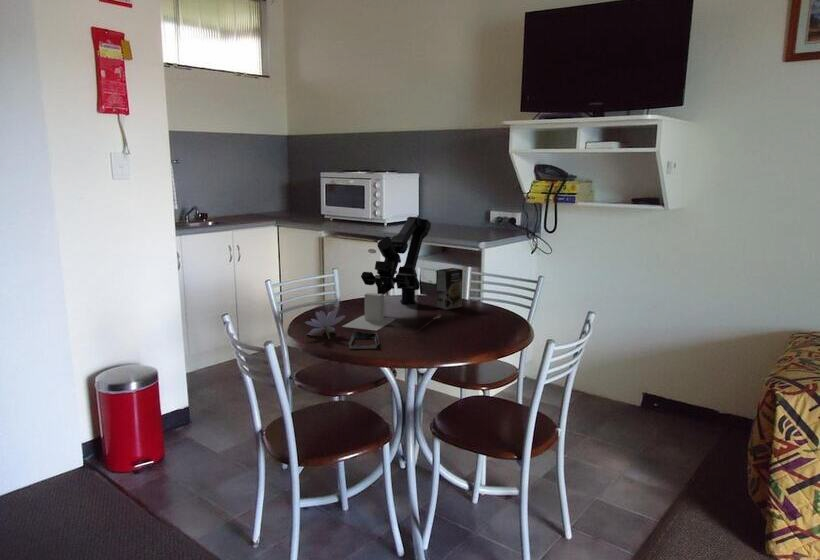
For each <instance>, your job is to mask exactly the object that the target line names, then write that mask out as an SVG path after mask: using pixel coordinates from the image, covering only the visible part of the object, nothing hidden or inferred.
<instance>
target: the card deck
mask: <svg viewBox="0 0 820 560" xmlns="http://www.w3.org/2000/svg"><path fill="white" fill-rule="evenodd" d="M384 296H385V295H384ZM384 296H383V294H378V293H376V292H375V293H373V292H367V293H365V294H364V315H365V320H369V321H378V322H381V321H382V320H384V316H385V315H384V314H385V313H384V302H385V301H384Z"/></svg>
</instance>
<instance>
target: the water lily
mask: <svg viewBox="0 0 820 560" xmlns="http://www.w3.org/2000/svg"><path fill="white" fill-rule="evenodd" d="M338 309H339V308H338V307H336V308H334V309H333V310H332V311H329V312H328V313H325V312H324V311H323V310H319V311H315V317H316V318H311V319H310V321H309V320H307V321H305V322H304V324H306V325H308V326H311V327H315V328H312V329H311V330H310V331H309V332H307V334H306V336H307V335H310V336H313V335H317V334H318V333H320V332H322V331H324V330H325V332H326V335H327V338H328V340H331V336H330V333H335V331H336V328H335V327H333V326H335V325H336V324H337V325H338V324H339V323H340V322H341V321H342V320H344V319H345V318H346V315H340V316H338V317H337V316H336V315H337V313H338V311H339V310H338ZM326 314H327V315H326Z"/></svg>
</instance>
